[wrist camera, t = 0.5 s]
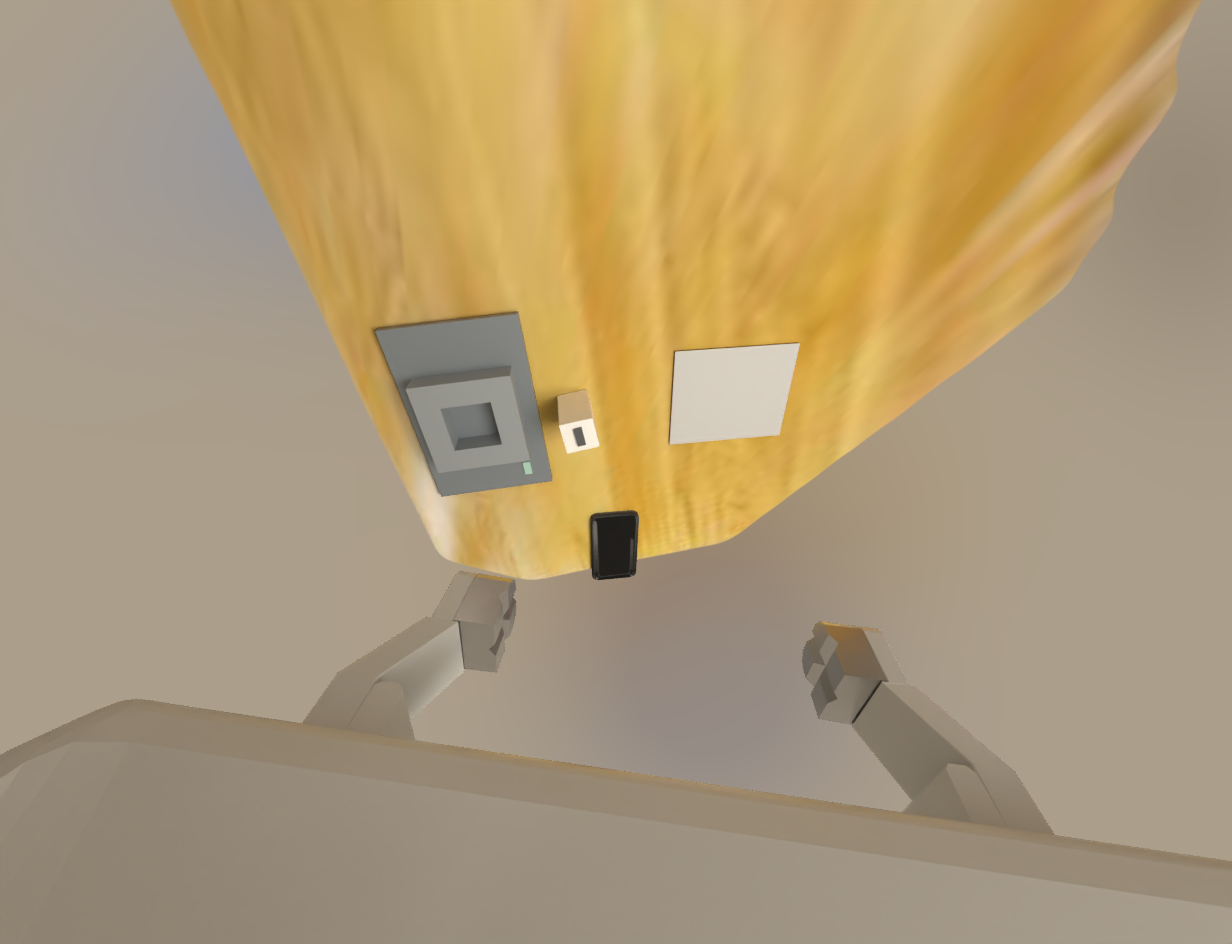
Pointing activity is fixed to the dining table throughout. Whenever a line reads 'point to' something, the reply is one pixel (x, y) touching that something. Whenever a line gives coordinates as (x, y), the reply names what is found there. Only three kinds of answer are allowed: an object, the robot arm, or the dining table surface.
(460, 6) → the dining table surface
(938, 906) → the robot arm
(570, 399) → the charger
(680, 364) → the paper stack
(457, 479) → the power dock
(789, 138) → the dining table surface
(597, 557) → the phone
